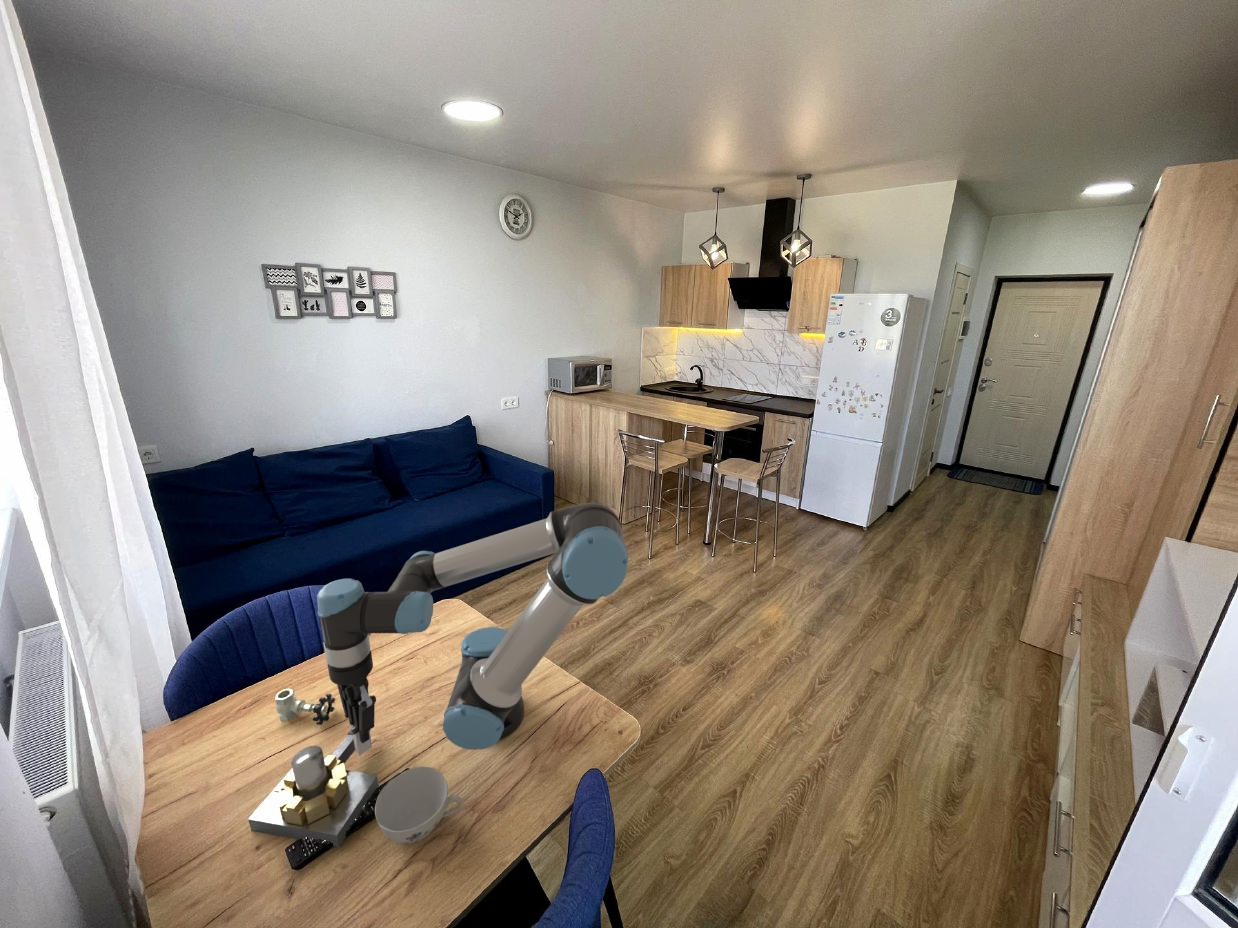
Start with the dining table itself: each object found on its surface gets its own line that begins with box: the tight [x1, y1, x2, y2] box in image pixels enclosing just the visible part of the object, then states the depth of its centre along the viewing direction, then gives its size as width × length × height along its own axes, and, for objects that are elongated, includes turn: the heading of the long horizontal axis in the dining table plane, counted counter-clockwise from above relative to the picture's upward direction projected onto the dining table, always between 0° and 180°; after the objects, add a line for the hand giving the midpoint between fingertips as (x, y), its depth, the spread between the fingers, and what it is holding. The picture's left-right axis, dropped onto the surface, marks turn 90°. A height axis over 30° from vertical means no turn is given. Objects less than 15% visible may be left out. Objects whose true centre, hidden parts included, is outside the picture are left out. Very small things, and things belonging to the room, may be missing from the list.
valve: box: [274, 688, 336, 726], centre depth 115 cm, size 7×7×12 cm
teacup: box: [374, 765, 463, 845], centre depth 91 cm, size 15×12×8 cm
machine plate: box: [247, 745, 380, 848], centre depth 93 cm, size 18×12×13 cm, turn 82°
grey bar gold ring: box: [278, 727, 356, 825], centre depth 98 cm, size 11×21×4 cm, turn 172°
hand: (363, 749), depth 101 cm, fingers closed
